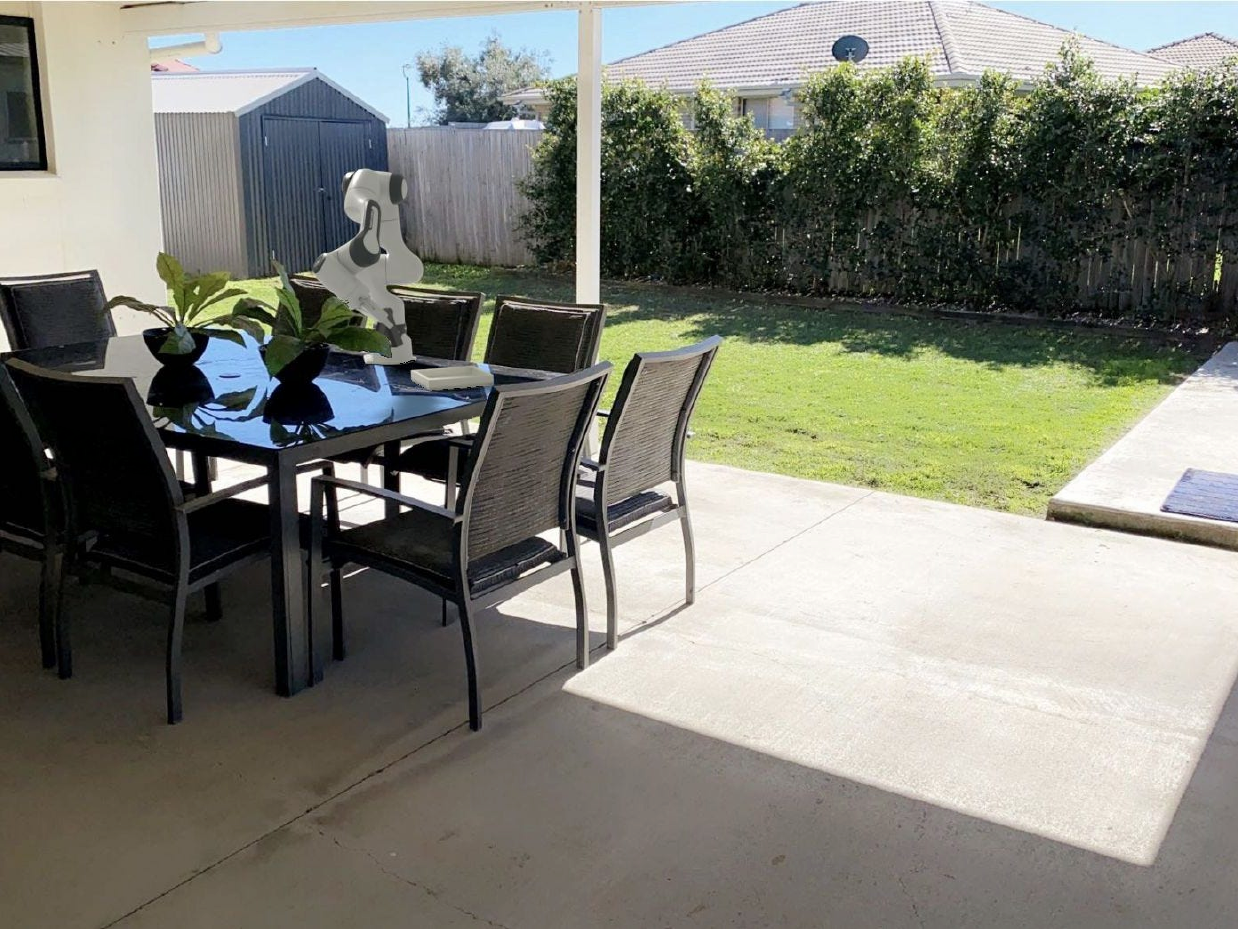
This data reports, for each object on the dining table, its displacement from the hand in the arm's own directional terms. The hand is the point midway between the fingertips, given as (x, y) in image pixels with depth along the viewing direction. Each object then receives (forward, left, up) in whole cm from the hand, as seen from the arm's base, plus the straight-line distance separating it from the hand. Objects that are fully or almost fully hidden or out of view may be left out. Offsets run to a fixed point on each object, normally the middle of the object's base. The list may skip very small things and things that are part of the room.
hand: (387, 325), depth 373 cm
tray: (+2, +20, -20) cm, 29 cm away
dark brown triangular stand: (0, -1, -7) cm, 7 cm away
